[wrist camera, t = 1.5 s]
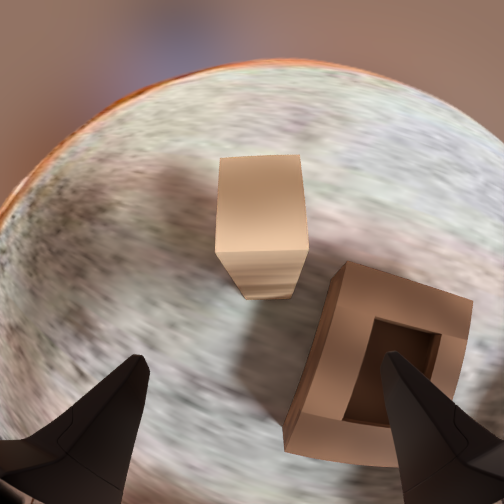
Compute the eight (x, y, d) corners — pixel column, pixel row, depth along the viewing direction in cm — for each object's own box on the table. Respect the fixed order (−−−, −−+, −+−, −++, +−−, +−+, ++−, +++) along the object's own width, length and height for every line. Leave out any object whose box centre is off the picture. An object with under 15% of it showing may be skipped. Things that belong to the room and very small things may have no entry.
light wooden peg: (290, 298, 22) (309, 249, 10) (246, 299, 23) (215, 252, 11) (288, 246, 24) (299, 154, 12) (246, 247, 24) (220, 158, 12)
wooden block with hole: (397, 446, 17) (424, 467, 12) (282, 427, 19) (284, 451, 14) (438, 310, 21) (473, 300, 15) (331, 279, 23) (347, 260, 17)
